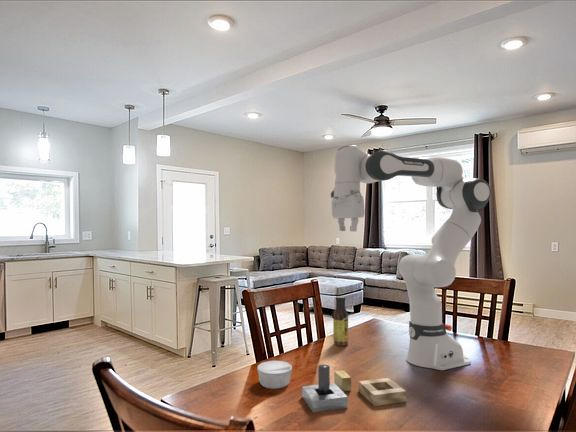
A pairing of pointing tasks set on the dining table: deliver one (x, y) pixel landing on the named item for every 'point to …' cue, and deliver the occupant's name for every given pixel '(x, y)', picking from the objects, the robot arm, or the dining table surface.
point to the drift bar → (342, 380)
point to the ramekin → (274, 374)
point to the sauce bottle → (340, 322)
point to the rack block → (382, 391)
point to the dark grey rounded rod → (323, 380)
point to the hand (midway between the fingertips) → (347, 231)
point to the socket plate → (324, 398)
